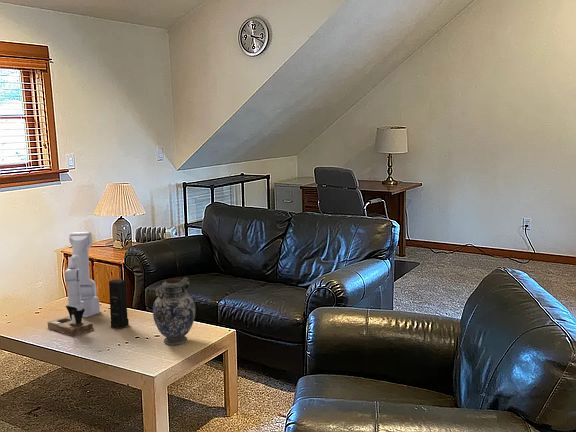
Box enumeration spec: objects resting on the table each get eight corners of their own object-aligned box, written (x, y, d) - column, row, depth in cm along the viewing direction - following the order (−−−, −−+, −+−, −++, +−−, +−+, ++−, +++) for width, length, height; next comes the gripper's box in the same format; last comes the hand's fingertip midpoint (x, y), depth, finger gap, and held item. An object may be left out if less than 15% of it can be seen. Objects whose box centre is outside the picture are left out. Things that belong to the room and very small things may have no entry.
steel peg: (79, 328, 273) (78, 312, 272) (83, 330, 270) (81, 314, 269) (71, 330, 270) (70, 314, 269) (74, 332, 267) (73, 316, 266)
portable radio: (108, 327, 274) (104, 276, 270) (116, 323, 279) (113, 273, 276) (121, 329, 271) (118, 278, 267) (129, 325, 276) (126, 275, 273)
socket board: (68, 321, 283) (67, 315, 282) (93, 329, 271) (92, 322, 271) (47, 328, 274) (47, 321, 274) (72, 336, 263) (72, 329, 262)
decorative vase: (174, 330, 268) (172, 272, 263) (206, 336, 259) (204, 277, 255) (142, 345, 249) (140, 283, 245) (176, 353, 241) (174, 289, 236)
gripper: (87, 295, 264) (89, 323, 266) (77, 289, 275) (79, 316, 277) (72, 298, 260) (74, 326, 262) (62, 291, 271) (64, 319, 273)
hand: (76, 321), depth 269 cm, fingers open, 7 cm apart
